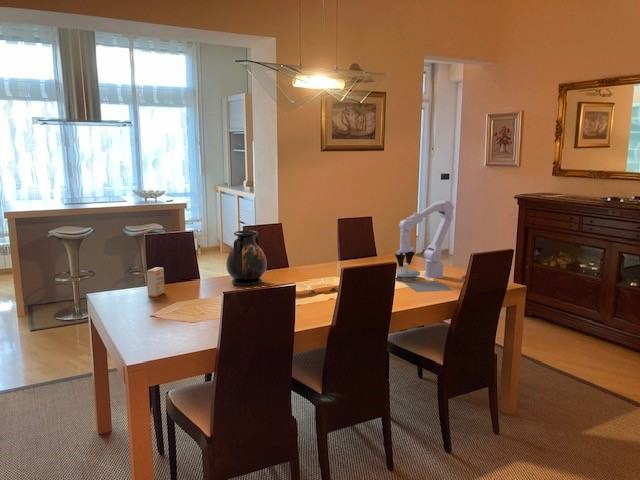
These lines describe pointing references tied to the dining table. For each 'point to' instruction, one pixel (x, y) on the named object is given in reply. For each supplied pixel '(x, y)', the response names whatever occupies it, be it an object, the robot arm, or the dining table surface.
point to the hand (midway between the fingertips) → (404, 265)
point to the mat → (427, 286)
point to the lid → (407, 271)
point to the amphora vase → (246, 260)
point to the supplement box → (155, 281)
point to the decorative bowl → (406, 278)
